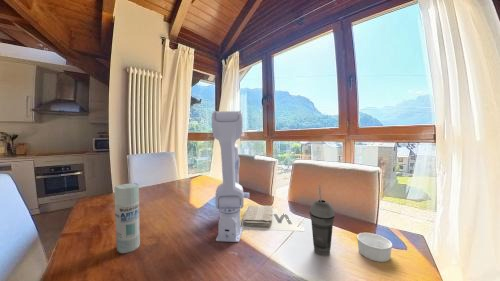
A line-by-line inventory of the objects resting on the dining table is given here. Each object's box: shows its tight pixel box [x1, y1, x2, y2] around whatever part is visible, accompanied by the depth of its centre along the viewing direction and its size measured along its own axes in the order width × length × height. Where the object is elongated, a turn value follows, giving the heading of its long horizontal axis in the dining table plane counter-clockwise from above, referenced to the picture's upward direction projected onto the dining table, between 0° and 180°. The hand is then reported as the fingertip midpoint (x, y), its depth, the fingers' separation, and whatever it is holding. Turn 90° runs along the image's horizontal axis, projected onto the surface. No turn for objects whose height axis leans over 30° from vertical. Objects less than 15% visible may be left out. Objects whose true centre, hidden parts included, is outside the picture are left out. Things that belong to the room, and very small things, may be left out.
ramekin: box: [356, 232, 393, 263], centre depth 57 cm, size 9×9×4 cm
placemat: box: [240, 207, 305, 232], centre depth 83 cm, size 21×24×1 cm
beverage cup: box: [309, 184, 336, 257], centre depth 58 cm, size 7×7×20 cm
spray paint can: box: [113, 182, 141, 254], centre depth 61 cm, size 6×6×20 cm
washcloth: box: [241, 204, 273, 227], centre depth 83 cm, size 12×18×3 cm, turn 173°
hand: (232, 213), depth 84 cm, fingers closed
